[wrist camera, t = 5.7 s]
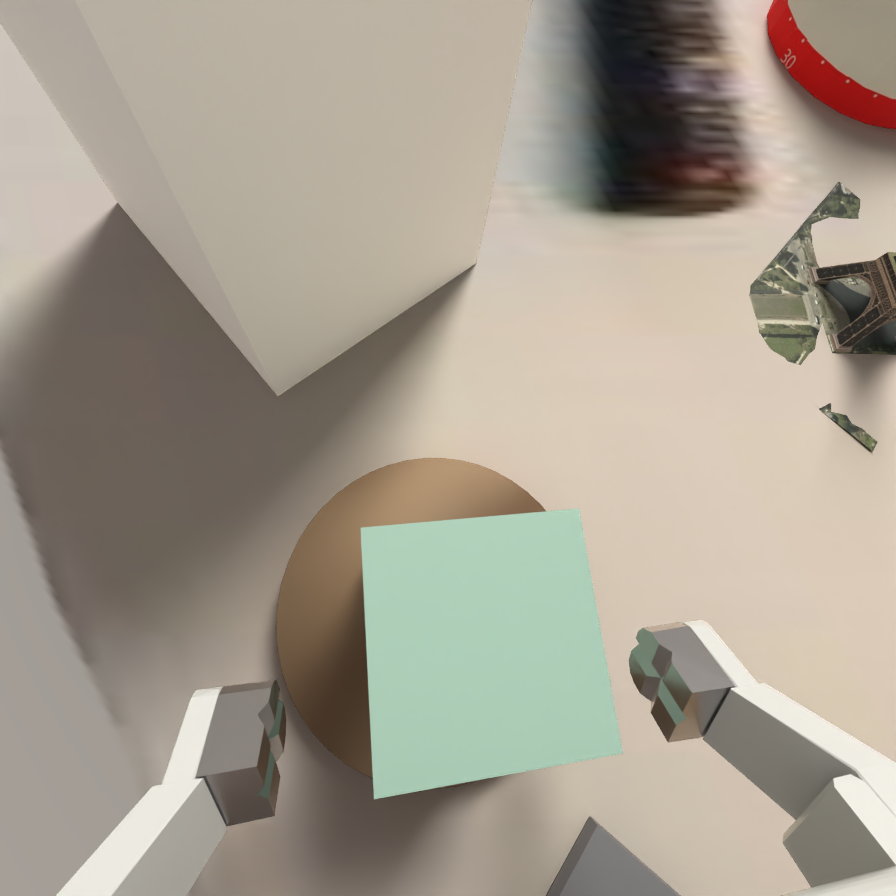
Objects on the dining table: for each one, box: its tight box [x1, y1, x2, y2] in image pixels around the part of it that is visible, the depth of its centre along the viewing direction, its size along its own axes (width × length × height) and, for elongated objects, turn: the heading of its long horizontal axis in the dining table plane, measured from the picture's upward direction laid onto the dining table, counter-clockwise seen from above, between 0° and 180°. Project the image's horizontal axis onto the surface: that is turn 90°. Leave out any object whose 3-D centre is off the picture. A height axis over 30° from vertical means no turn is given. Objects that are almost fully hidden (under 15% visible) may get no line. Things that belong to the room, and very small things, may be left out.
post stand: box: [276, 458, 546, 789], centre depth 14 cm, size 11×11×7 cm
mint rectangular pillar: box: [361, 509, 623, 799], centre depth 12 cm, size 4×4×8 cm
